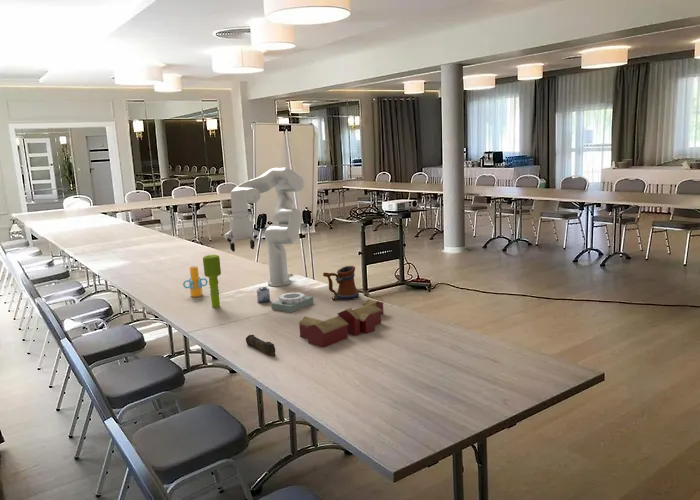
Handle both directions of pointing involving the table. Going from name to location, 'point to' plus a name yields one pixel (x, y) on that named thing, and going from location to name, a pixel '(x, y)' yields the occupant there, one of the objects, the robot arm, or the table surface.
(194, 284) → the cylinder
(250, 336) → the brown elongated bar
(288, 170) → the robot arm
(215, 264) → the microphone
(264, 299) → the hub
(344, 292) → the mug
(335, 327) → the toy houses
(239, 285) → the table surface
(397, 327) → the table surface
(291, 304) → the block
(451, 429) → the table surface
